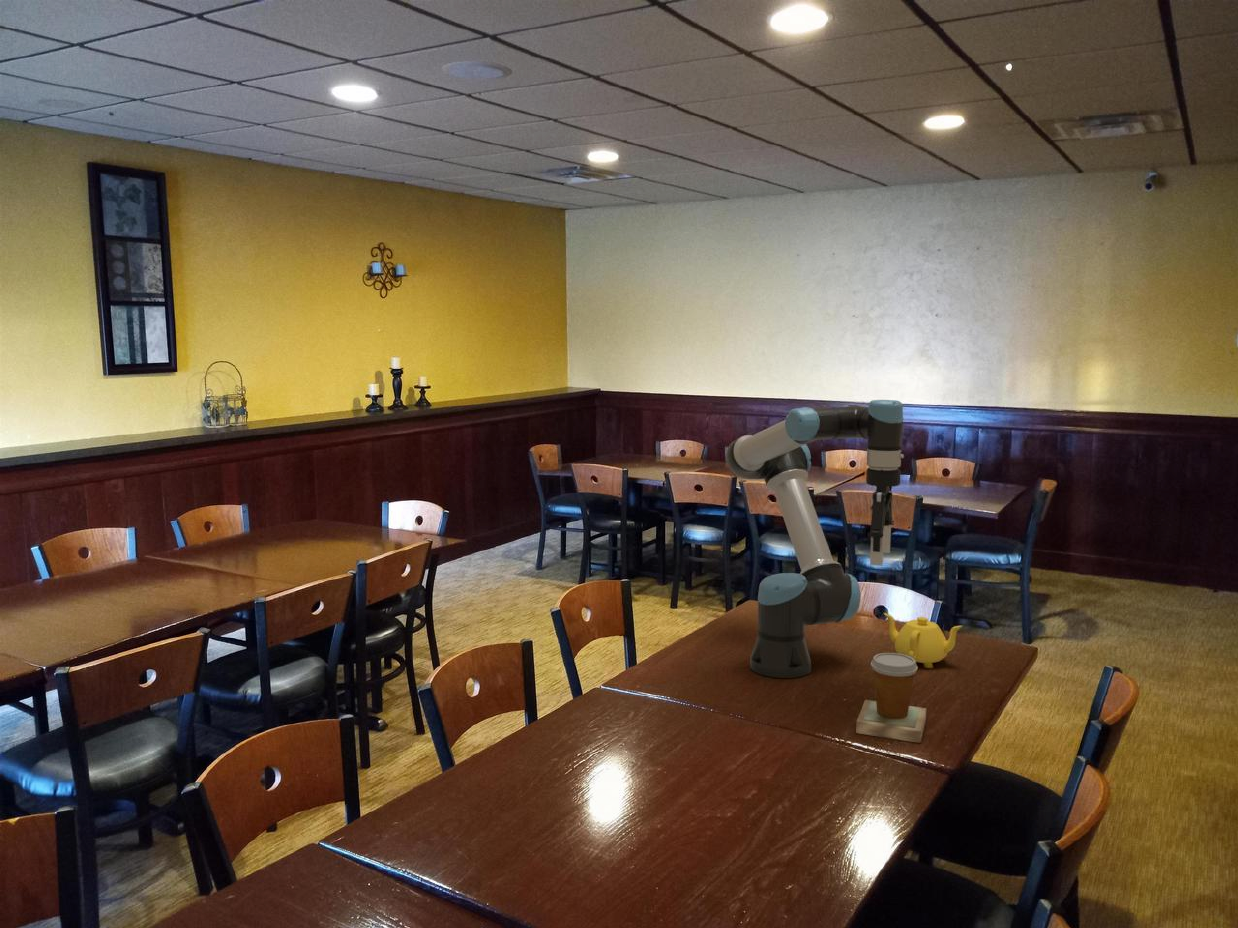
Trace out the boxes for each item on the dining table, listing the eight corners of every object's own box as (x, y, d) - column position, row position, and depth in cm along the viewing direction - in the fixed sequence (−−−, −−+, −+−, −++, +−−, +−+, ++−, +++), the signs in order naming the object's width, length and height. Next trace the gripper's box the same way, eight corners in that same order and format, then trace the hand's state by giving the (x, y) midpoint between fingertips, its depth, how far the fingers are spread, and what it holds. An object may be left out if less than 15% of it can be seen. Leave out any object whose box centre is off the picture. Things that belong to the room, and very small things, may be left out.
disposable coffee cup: (917, 724, 195) (920, 668, 193) (870, 720, 196) (872, 665, 195) (913, 706, 204) (915, 653, 202) (867, 703, 206) (869, 650, 204)
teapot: (871, 662, 239) (873, 619, 238) (890, 647, 252) (891, 605, 250) (951, 678, 228) (954, 633, 227) (967, 661, 241) (969, 618, 239)
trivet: (856, 732, 197) (856, 720, 197) (864, 710, 209) (865, 698, 208) (920, 742, 192) (921, 729, 192) (925, 719, 204) (926, 707, 204)
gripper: (894, 476, 201) (890, 572, 204) (906, 461, 224) (902, 548, 227) (858, 474, 204) (855, 569, 207) (874, 460, 227) (870, 546, 230)
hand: (880, 558), depth 217 cm, fingers open, 13 cm apart
